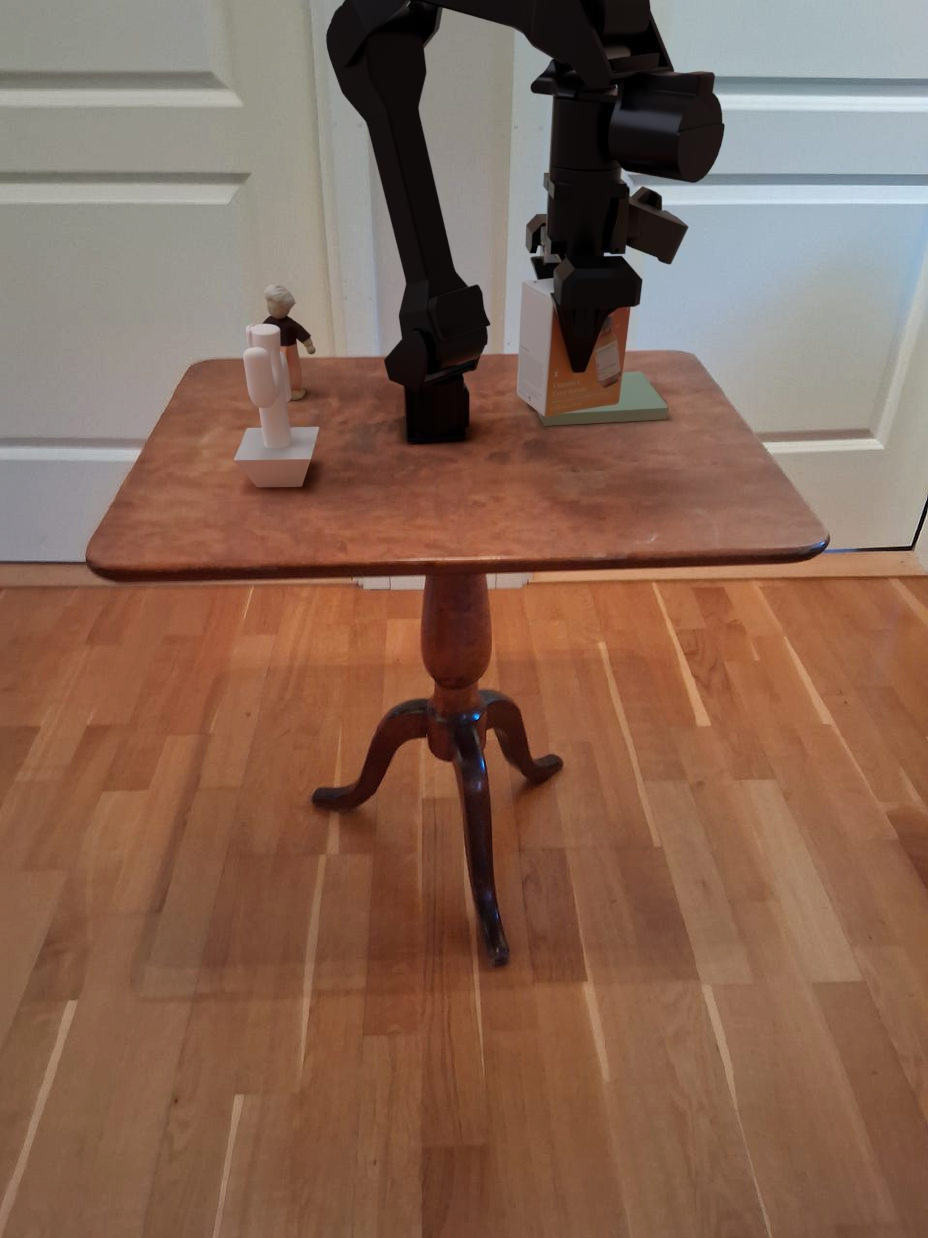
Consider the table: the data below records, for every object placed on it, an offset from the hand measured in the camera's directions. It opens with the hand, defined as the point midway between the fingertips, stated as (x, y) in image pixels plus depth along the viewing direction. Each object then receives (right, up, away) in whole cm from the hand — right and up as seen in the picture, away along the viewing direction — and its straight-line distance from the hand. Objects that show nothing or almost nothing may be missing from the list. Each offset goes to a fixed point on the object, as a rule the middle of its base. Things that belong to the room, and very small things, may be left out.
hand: (571, 357), depth 80 cm
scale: (+6, +2, +24) cm, 25 cm away
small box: (0, -3, +3) cm, 4 cm away
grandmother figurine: (-30, +3, +26) cm, 40 cm away
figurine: (-28, -9, +10) cm, 31 cm away
